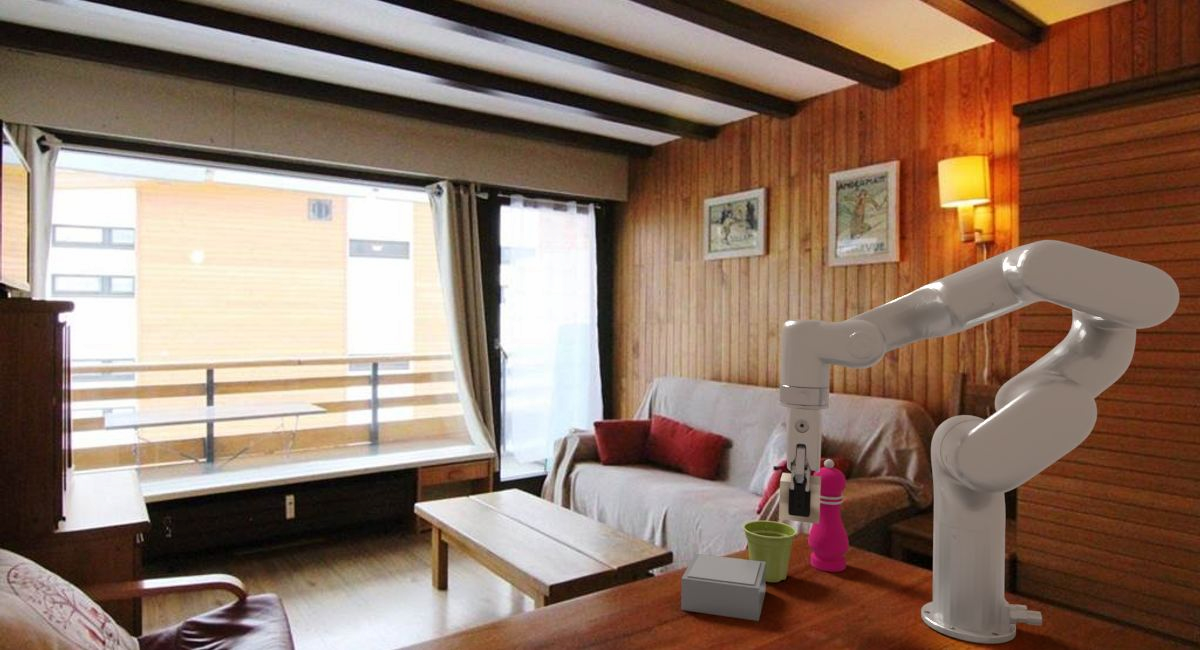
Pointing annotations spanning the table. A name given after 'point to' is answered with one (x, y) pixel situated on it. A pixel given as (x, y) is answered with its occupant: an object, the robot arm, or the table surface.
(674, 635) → the table surface
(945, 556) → the robot arm
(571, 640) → the table surface
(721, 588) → the slate stand
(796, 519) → the birch block
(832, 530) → the pepper mill
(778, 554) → the plant pot
